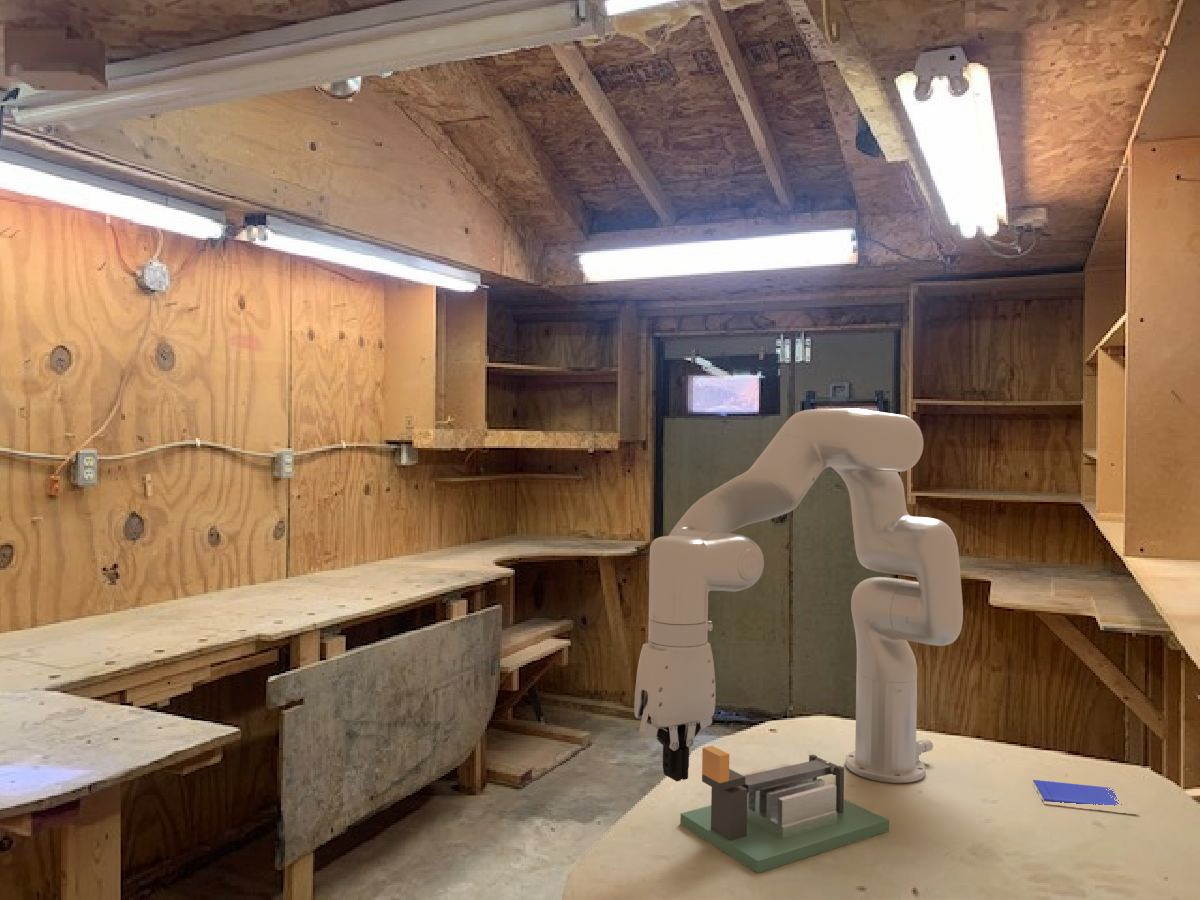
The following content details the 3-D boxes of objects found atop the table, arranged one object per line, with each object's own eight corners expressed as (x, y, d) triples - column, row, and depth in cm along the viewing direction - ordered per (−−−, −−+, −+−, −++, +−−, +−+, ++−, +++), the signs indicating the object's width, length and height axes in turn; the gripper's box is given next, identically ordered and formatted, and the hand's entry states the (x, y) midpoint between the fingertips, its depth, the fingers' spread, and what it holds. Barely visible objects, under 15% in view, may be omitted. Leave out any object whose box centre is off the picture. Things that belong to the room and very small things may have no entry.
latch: (727, 775, 117) (728, 742, 117) (745, 784, 114) (745, 750, 114) (702, 781, 115) (702, 747, 115) (719, 790, 112) (719, 756, 112)
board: (805, 790, 133) (806, 740, 133) (889, 830, 119) (889, 774, 119) (680, 824, 121) (681, 768, 121) (757, 873, 107) (758, 810, 107)
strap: (820, 766, 126) (820, 756, 126) (838, 774, 123) (839, 764, 123) (732, 785, 117) (732, 775, 117) (749, 795, 114) (750, 784, 114)
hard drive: (1120, 787, 134) (1032, 778, 137) (1137, 808, 126) (1044, 797, 129) (1120, 797, 134) (1032, 788, 137) (1137, 818, 126) (1043, 808, 129)
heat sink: (785, 796, 127) (786, 763, 127) (837, 822, 118) (837, 786, 118) (733, 810, 122) (733, 775, 122) (782, 838, 113) (783, 800, 113)
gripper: (705, 622, 117) (703, 757, 117) (612, 633, 109) (610, 778, 110) (742, 633, 111) (740, 775, 111) (646, 645, 103) (643, 799, 103)
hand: (675, 776), depth 110 cm, fingers closed
